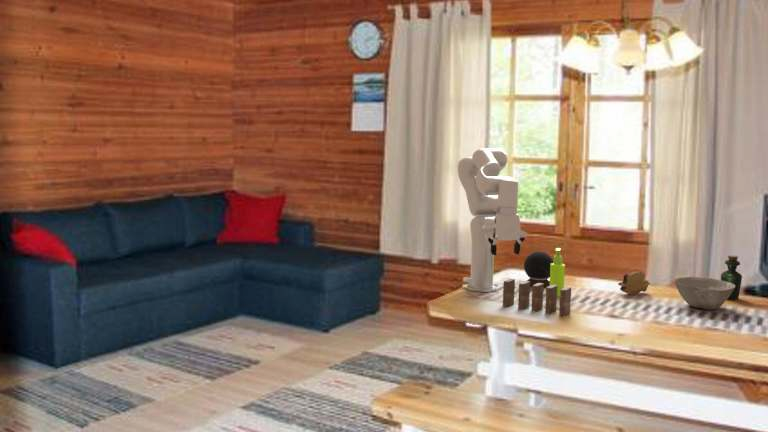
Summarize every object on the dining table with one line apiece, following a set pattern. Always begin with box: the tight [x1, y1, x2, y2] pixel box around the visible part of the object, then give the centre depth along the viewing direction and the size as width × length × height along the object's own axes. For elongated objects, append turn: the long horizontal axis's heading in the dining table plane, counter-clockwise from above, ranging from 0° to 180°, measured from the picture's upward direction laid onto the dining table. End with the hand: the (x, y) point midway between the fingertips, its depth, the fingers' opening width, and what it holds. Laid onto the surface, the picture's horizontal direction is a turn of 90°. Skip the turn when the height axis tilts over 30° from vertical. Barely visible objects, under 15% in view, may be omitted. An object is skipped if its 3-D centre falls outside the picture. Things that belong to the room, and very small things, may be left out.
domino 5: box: [558, 286, 572, 317], centre depth 280 cm, size 2×6×10 cm, turn 146°
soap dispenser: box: [549, 247, 566, 298], centre depth 311 cm, size 6×7×20 cm
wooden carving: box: [617, 270, 650, 296], centre depth 316 cm, size 16×5×10 cm, turn 123°
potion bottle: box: [720, 254, 743, 301], centre depth 312 cm, size 8×8×18 cm
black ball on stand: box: [523, 250, 554, 289], centre depth 331 cm, size 13×13×15 cm
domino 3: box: [531, 283, 544, 313], centre depth 286 cm, size 2×6×10 cm, turn 146°
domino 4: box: [544, 285, 558, 315], centre depth 283 cm, size 2×6×10 cm, turn 146°
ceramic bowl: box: [673, 276, 735, 311], centre depth 296 cm, size 22×23×10 cm
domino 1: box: [502, 278, 516, 308], centre depth 293 cm, size 2×6×10 cm, turn 146°
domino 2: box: [517, 280, 531, 311], centre depth 289 cm, size 2×6×10 cm, turn 146°
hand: (505, 254), depth 293 cm, fingers open, 9 cm apart
